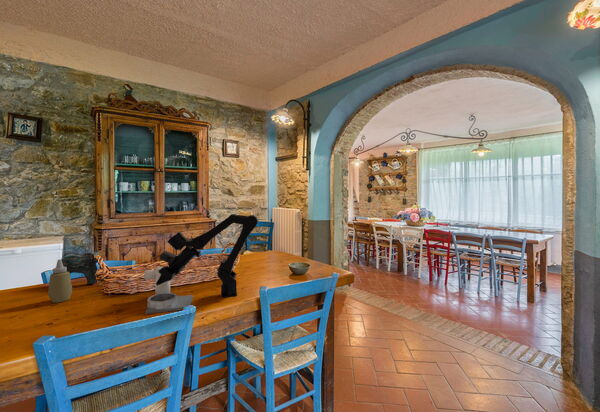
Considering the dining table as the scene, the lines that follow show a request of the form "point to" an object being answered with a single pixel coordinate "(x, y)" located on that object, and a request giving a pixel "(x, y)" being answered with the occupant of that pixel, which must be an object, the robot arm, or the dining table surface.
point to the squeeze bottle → (60, 284)
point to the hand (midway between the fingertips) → (159, 282)
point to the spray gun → (82, 264)
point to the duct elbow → (156, 275)
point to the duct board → (176, 307)
